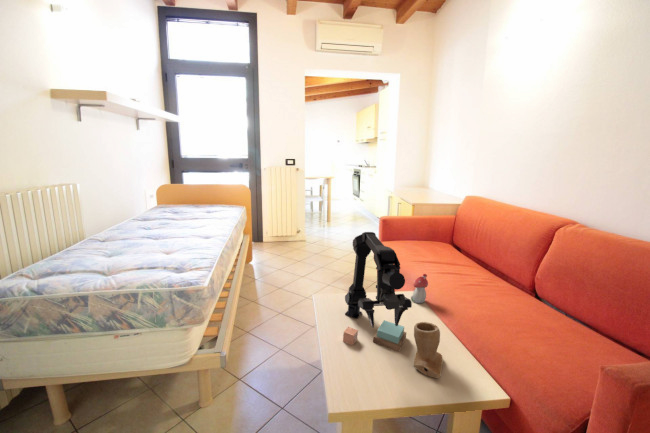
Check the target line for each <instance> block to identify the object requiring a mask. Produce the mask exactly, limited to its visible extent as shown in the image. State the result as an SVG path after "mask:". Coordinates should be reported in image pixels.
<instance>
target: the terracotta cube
mask: <svg viewBox="0 0 650 433" xmlns="http://www.w3.org/2000/svg"><path fill="white" fill-rule="evenodd" d="M358 334H359V330H358V329H356V328H353V327H350V326H347V328H346V329H345V330H344V331H343V335H342V342H344V343H345V344H348V345H350V346H354V344H355V343H356V342H357V340H358Z"/></svg>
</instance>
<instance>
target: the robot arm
mask: <svg viewBox="0 0 650 433" xmlns="http://www.w3.org/2000/svg"><path fill="white" fill-rule="evenodd" d="M352 250H353V251H354V253H355V262H354V263H355V264H354V270H353V281H352V283H351V285H350V286H349V287H348V291H347V293H346V294H345V295H344V301H345V304H346V305H347V311H346V312H345V313H344V314H345V316H348V317H351V318H354V319H359V317H360V316H361V315H362V314H363V312H362V311H361V310H364V312H365V313H366V314H367V318H368V320H369V324H370V326H371V328H373V329H374V327H375V318H374V315H375V314H374V313H375V309H373V308H375V307H380V306H384V307H385V309H386V310H389V311H391V310H393V311H394V324H395V326H398V325H399V323H400V321H401V318H402V316H403V313H404V312H405V311H408V310H409V308H412V303H413V301H412V300H411V298H408V297H406V296H405V294H404V293H397V294H396V291H397V290H401V289H402V288H403V287H404V286H405V285H406V278H405V276H404V274H403V273H402V272H401V263H400V260H399V259H398V255H397V253H396V252H395V250H394V249H393V248H391V247H389V246H386V245H384V243H383V242H382V241H380V239H379V238H378V237H377V234H376V232H373V231H364V232H362V233H361V234H359V235H356V236H355V237H354V239H353V240H352ZM371 252H372V253H373V261H374V263H375V265H376V267H375V269H376V285H375V288H376V296H375V300H372V299H371V298H370V297H367V291H366V289H365V288H364V281H365V270H366V262H367V257H368V256H369V255H370V254H371Z"/></svg>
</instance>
